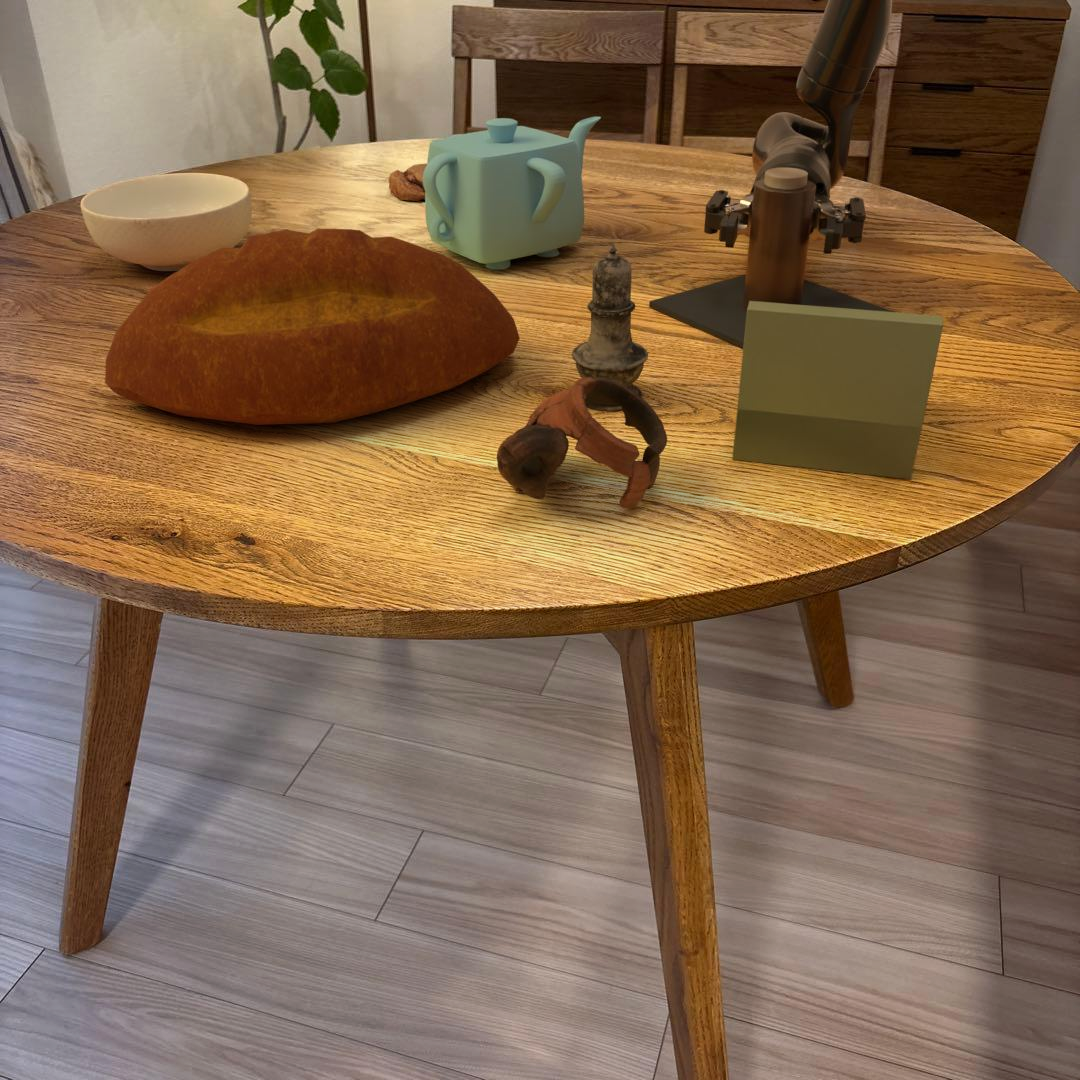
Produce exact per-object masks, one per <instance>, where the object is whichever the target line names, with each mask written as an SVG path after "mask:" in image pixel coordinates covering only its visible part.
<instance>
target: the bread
mask: <svg viewBox="0 0 1080 1080" xmlns="http://www.w3.org/2000/svg"><path fill="white" fill-rule="evenodd" d="M520 339H521V338H520V334H519V332H518V327H517V325H516V322H515V319H514V317H513V315H512V314H511V313H510V311H508V309H507V308H506V307H505V306H504V305H503V303H502V302H501V301H500V299H499V298H498V297H497V295H496V294H495V293H493V291H492V290H490V289H489V288H488V287H487V286H486V285H485V284H484V283H483V282H482V281H480V280H479V279H478V278H477V277H476V276H475V275H473V274H472V273H471V272H470V271H469V270H468V269H467V268H466V267H464V266H463V265H462V263H459V262H457V261H456V260H454V259H452V258H451V257H449V256H448V255H445V254H442V253H440V252H437V251H434V250H431V249H429V248H426V247H423V246H420V245H417V244H414V243H412V242H409V241H406V240H403V239H400V238H397V237H393V236H376V237H372V236H370V235H369V234H367V233H365V232H364V231H362V230H360V229H354V228H353V229H352V228H316V229H314V230H313V231H311V232H302V231H297V230H291V229H281V230H277V231H272V232H266V233H261V234H257V235H251V236H249V237H248V238H246V239H245V240H244V242H243V244H242V245H241V247H233V248H221V249H219V250H217V251H214V252H212V253H210V254H208V255H206V256H203V257H201V258H199V259H197V260H195V261H193V262H191V263H190V264H188V265H187V266H185V267H183V268H182V269H180V270H179V271H175V272H173V273H172V274H170V275H169V276H168V277H166V278H164V279H163V280H161V281H160V282H159V283H157V284H155V285H154V286H153V287H152V288H150V289H149V291H148V292H147V293H146V294H145V295H144V297H143V298H142V299H141V300H140V301H139V303H138V304H137V305H136V306H135V308H134V309H133V310H132V311H131V312H130V313H129V315H128V316H127V317H126V319H125V320H124V321H123V322H122V323H121V325H120V326H119V327H118V328H117V329H116V331H115V333H114V335H113V339H112V342H111V345H110V347H109V349H108V352H107V356H106V358H105V373H104V383H105V384H106V386H107V387H108V388H109V389H110V390H111V391H112V392H113V393H114V394H116V395H118V396H120V397H122V398H124V399H126V400H128V401H131V402H135V403H138V404H142V405H146V406H149V407H152V408H155V409H158V410H161V411H166V412H168V413H172V414H174V415H175V414H176V415H179V416H184V417H191V418H200V419H206V420H207V419H209V420H216V421H225V422H233V423H241V424H250V425H258V426H260V425H295V424H296V425H299V424H302V425H303V424H329V423H330V424H332V423H333V424H334V423H339V422H341V421H347V420H351V419H355V418H358V417H362V416H363V417H364V416H367V415H371V414H375V413H378V412H382V411H386V410H389V409H393V408H396V407H400V406H404V405H406V404H409V403H412V402H415V401H418V400H421V399H424V398H427V397H431V396H434V395H436V394H440V393H443V392H446V391H449V390H452V389H454V388H456V387H458V386H460V385H462V384H465V383H466V382H468V381H470V380H472V379H474V378H476V377H478V376H481V375H482V374H484V373H486V372H487V371H489V370H491V369H492V368H493V367H495V366H496V365H498V364H499V363H501V362H503V361H504V360H505V359H507V358H508V357H510V356H512V355H513V354H514V352H515V351H516V348H517V345H518V344H519V341H520Z"/></svg>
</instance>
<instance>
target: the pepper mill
mask: <svg viewBox="0 0 1080 1080" xmlns="http://www.w3.org/2000/svg"><path fill="white" fill-rule="evenodd" d="M807 177H808V173H807V172H806V171H804V170H801V169H796V168H772V169H769V170H767V171H766V172H765V178H764V179H761V180H758V181H756V182H755V185H754V195H753V206H752V216H751V226H750V237H748V246H747V247H748V249H747V258H746V267H745V268H746V269H745V270H746V271H745V274H746V278H745V288H744V298H743V307H744V308H745V309H746V310H747V308H748V305H749V301H757V302H770V303H783V304H795V305H801V299H802V291H803V283H804V279H805V275H806V268H807V259H808V253H809V252H808V251H809V245H810V244H809V243H810V239H809V237H810V229H811V221H812V213H813V205H814V198H815V190H816V185H815V184H814V183H813V182H811V181H808V180H807Z"/></svg>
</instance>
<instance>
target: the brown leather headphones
mask: <svg viewBox="0 0 1080 1080" xmlns="http://www.w3.org/2000/svg"><path fill="white" fill-rule="evenodd" d="M583 394H586V397H585V398H584V399H583ZM585 403H592V404H605V405H620V406H621V407H622V410H621V411H622V412H623V415H624V425H625V426H626V427H631V428H634V429H635V430H637V431H638V432H639V433H640V436H642V438H643V440H644V441H645V443H646V444H647V445H648V446H647V447H645V449H644V451H643V454H642V459H641V460H636V459H638V458H639V456H640V454H641V453H640V451H639V448H638V446H637V445H636V444H633V443H631V442H628V441H626V440H623V439H622V438H619V437H617V436H615V434H613V433H612V432H610V431H609V430H608V429H607V428H605V427H604V426H603V425H602V424H601V423H600V422H598V421H597V420H596V419H595V417H593V415H592V414H591V412H590V411H589V408H588V407H586V405H585ZM568 437H569V438H572V439H574V440H576V441H577V442H576V445H575V447H574V450H576V451H577V452H579V453H580V454H582V455H585V456H586V457H588V458H590V459H591V460H592V461H594V462H595V463H598V464H600V465H604V466H606V467H608V468H609V469H611V470H612V471H613V472H615V473H617V474H620V475H622V476H624V477H628V479H627V483H626V488H625V491H624V492H623V494H622V497H621V498H620V499H619V506H620V508H621V509H625V510H626V509H627V510H628V509H629V510H631V509H634V508H637V506H638V505H639V503H640V501H642V500H643V499H644V498H645V494H646V492H647V491H648V490H652V488H653V487H654V485H655V482H656V480H657V477H658V474H659V471H660V465H661V464H660V463H661V457H660V455H661V453H663V452H664V450H665V449H666V446H667V443H668V436H667V432H666V429H665V426H664V424H663V420H662V419H661V418H660V417H659V415H658V413H657V412H656V411H655V410H654V409H653V407H652V406H651V404H650V403H648V401H646V400H645V399H644V398H643V397H642V398H641V397H640V396H639V395H637V394H636V393H635V392H634V391H632V390H631V389H629V388H628V387H626V386H624V385H622V384H620V383H618V382H616V381H613V380H610V379H607V378H603V377H596V376H592V377H584V378H581V377H580V378H579V379H577V380H576V381H575V382H574V384H573V385H572V387H571V388H569V389H565V390H561V391H557V392H556V393H553V394H552V395H549V396H548V397H546V398H545V399H543V401H541V403H540V404H539V405H538V406H537V407H535V409H534V411H533V412H531V414H530V415H529V418H528V420H527V423H526V425H524V426H523V427H521V428H519V429H518V430H516V431H515V432H514V433H512V434H511V435H509V436H507V437H506V438H505V439H504V440H503V441H502V442H501V444H500V445H499V447H498V448H497V452H496V461H497V462H496V463H497V469H498V472H499V474H500V476H501V477H502V478H503V480H505V482H507V483H508V484H509V485H511V486H512V488H513V490H514V491H515V492H520V491H521V490H522V493H523V494H525V496H528V497H530V498H534V499H536V500H542V499H544V498H545V496H546V493H547V488H548V486H549V484H550V482H551V480H552V477H554V475H555V474H556V472H557V470H558V469H559V468H560V467H561V466H562V465H563V463H564V462H565V460H566V457H567V453H568V451H569V447H570V443H569V442H570V441H569V439H568Z"/></svg>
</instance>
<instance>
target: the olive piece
mask: <svg viewBox="0 0 1080 1080" xmlns="http://www.w3.org/2000/svg"><path fill="white" fill-rule="evenodd" d="M943 329H944V321H943V315H934V314H921V313H910V312H897V311H894V312H885V311H872V310H859V309H846V308H834V307H821V306H808V305H795V304H783V303H770V302H757V301H749V305H748V308H747V316H746V326H745V336H744V346H743V348H742V357H741V368H740V377H739V387H738V397H737V407H736V416H735V428H734V437H733V446H732V458H731V459H732V460H733V461H742V462H743V461H744V462H754V463H760V464H761V463H762V464H770V465H771V464H772V465H780V466H788V467H795V468H796V467H797V468H805V469H806V468H807V469H815V470H825V471H832V472H840V473H851V474H858V475H869V476H877V477H886V478H894V479H904V480H912V478H913V472H914V468H915V463H916V458H917V454H918V453H917V452H918V449H919V443H920V439H921V435H922V430H923V425H924V420H925V416H926V410H927V405H928V401H929V396H930V392H931V386H932V382H933V376H934V372H935V368H936V362H937V357H938V354H939V353H938V352H939V349H940V343H941V340H942V339H941V338H942V333H943Z"/></svg>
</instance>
